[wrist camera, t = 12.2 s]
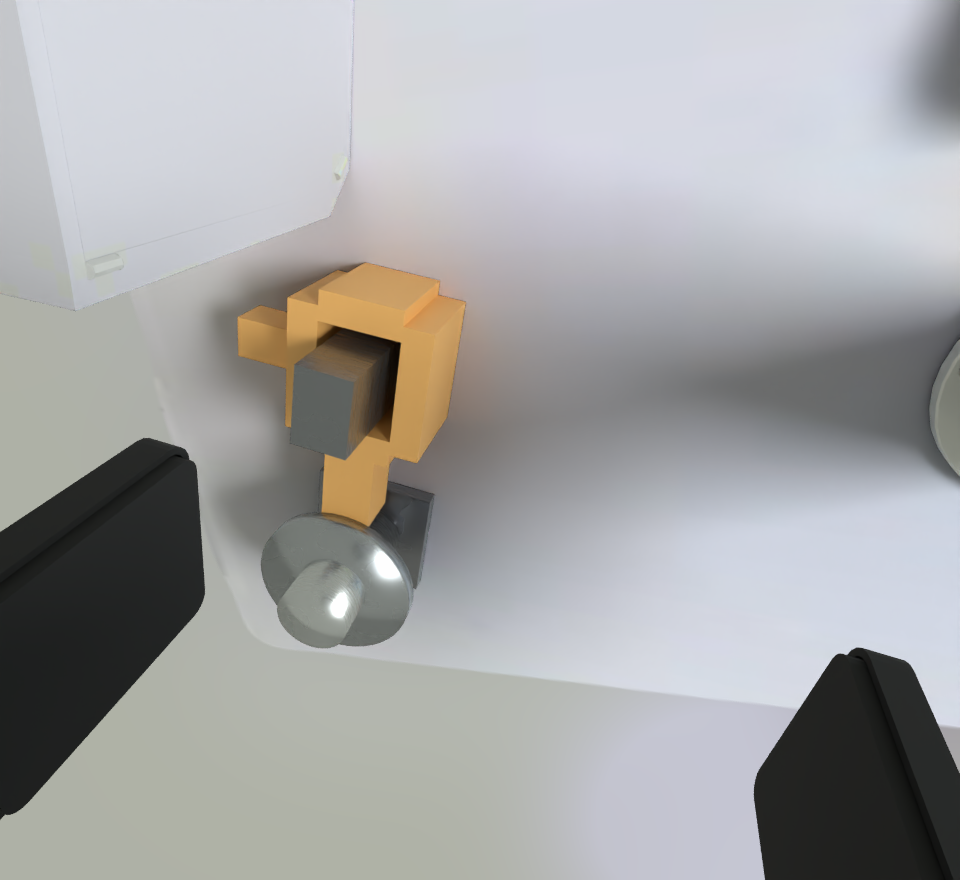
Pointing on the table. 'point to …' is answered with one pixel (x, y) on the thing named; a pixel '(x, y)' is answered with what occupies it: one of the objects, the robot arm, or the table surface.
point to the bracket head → (421, 372)
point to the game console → (163, 135)
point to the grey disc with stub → (348, 570)
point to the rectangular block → (343, 391)
